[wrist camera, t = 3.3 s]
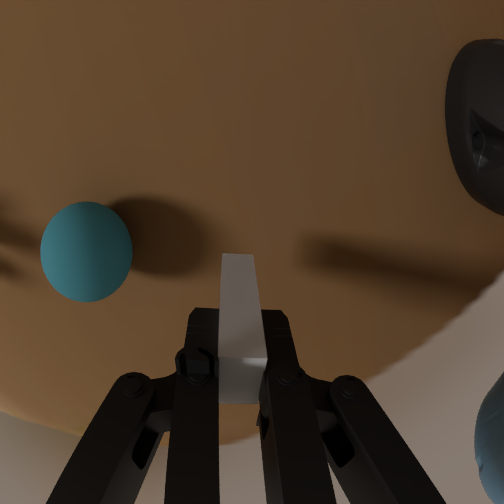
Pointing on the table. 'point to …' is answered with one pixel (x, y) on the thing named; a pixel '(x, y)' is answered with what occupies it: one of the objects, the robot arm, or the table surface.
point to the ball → (86, 251)
